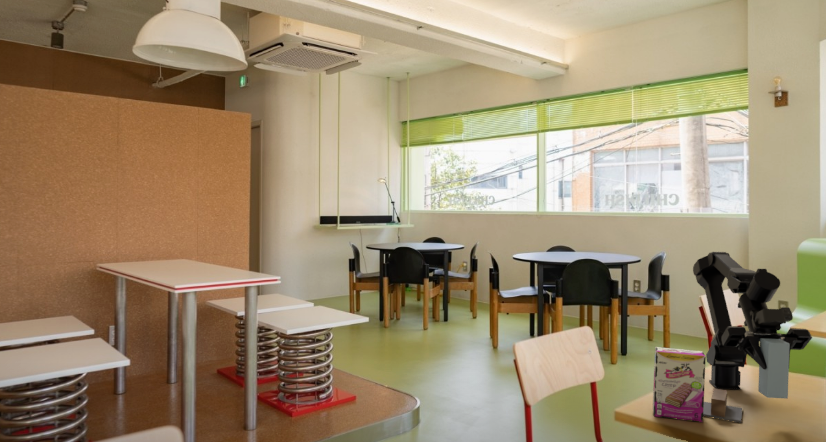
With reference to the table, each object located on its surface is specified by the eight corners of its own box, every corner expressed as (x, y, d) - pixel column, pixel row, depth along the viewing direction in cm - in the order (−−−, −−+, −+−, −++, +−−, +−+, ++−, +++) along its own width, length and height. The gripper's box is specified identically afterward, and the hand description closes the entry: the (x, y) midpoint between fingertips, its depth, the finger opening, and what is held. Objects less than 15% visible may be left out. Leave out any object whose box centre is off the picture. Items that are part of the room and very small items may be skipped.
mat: (694, 414, 143) (694, 412, 143) (698, 403, 152) (698, 400, 152) (741, 423, 138) (741, 420, 138) (742, 410, 147) (742, 407, 147)
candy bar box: (653, 417, 141) (655, 351, 141) (652, 410, 146) (653, 346, 145) (704, 423, 138) (706, 355, 137) (701, 416, 142) (703, 350, 142)
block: (767, 397, 136) (768, 342, 136) (758, 391, 141) (760, 338, 140) (787, 398, 136) (789, 343, 135) (778, 392, 140) (779, 339, 139)
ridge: (710, 414, 142) (711, 398, 142) (713, 403, 149) (713, 388, 149) (724, 417, 140) (725, 400, 140) (726, 405, 148) (726, 390, 148)
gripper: (727, 293, 142) (745, 349, 132) (809, 296, 140) (834, 353, 129) (713, 318, 150) (730, 373, 140) (791, 321, 148) (813, 377, 137)
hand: (776, 369), depth 136 cm, fingers closed on block, 4 cm apart
